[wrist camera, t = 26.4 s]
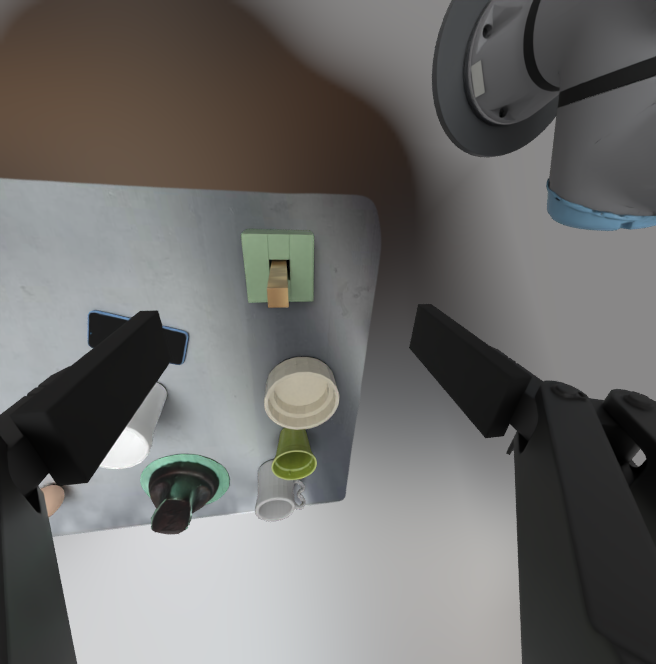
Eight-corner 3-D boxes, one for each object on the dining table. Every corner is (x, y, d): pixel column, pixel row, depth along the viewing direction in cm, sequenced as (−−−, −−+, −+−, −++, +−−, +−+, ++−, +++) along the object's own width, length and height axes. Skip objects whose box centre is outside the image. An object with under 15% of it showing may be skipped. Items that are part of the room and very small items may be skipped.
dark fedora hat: (131, 455, 56) (229, 451, 61) (156, 467, 71) (233, 463, 76) (103, 543, 48) (219, 531, 53) (139, 536, 63) (226, 527, 68)
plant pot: (299, 451, 65) (301, 484, 58) (265, 439, 62) (263, 474, 54) (320, 426, 63) (325, 458, 55) (286, 413, 59) (286, 445, 51)
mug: (252, 477, 67) (248, 519, 58) (266, 454, 64) (263, 495, 55) (296, 485, 71) (298, 525, 62) (311, 463, 68) (315, 503, 59)
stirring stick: (286, 255, 43) (287, 288, 28) (286, 268, 44) (288, 307, 29) (272, 255, 43) (266, 288, 27) (273, 268, 44) (268, 307, 28)
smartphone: (182, 366, 49) (86, 348, 44) (184, 364, 50) (89, 345, 45) (188, 333, 46) (86, 309, 41) (189, 330, 47) (90, 307, 42)
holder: (310, 230, 42) (314, 234, 37) (309, 289, 47) (313, 301, 41) (246, 228, 41) (240, 233, 35) (252, 290, 45) (248, 302, 40)
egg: (35, 481, 57) (2, 519, 50) (64, 476, 57) (35, 513, 51) (49, 497, 60) (20, 534, 53) (77, 492, 60) (51, 529, 53)
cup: (175, 371, 50) (143, 423, 39) (180, 411, 54) (153, 468, 43) (115, 370, 48) (63, 424, 36) (126, 411, 52) (82, 471, 41)
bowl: (309, 342, 52) (312, 358, 46) (345, 386, 58) (352, 405, 53) (251, 379, 53) (248, 399, 48) (293, 418, 60) (294, 439, 55)
